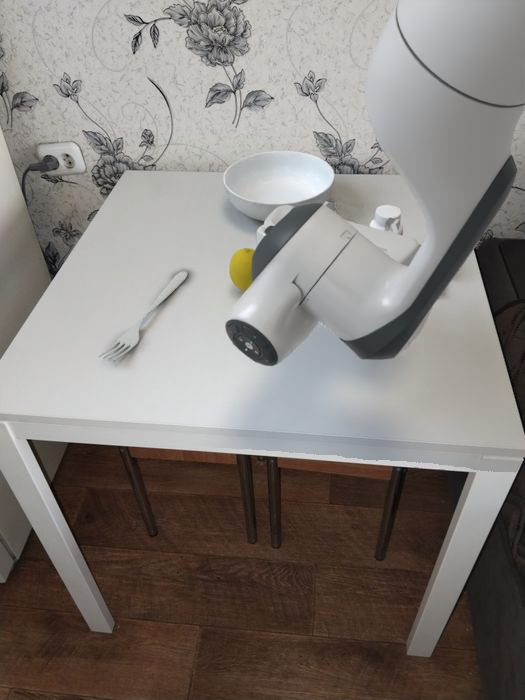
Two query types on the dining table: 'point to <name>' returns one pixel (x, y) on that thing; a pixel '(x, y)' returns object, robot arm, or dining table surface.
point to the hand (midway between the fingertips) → (362, 214)
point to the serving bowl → (277, 182)
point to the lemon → (242, 268)
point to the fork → (133, 335)
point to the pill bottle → (386, 217)
